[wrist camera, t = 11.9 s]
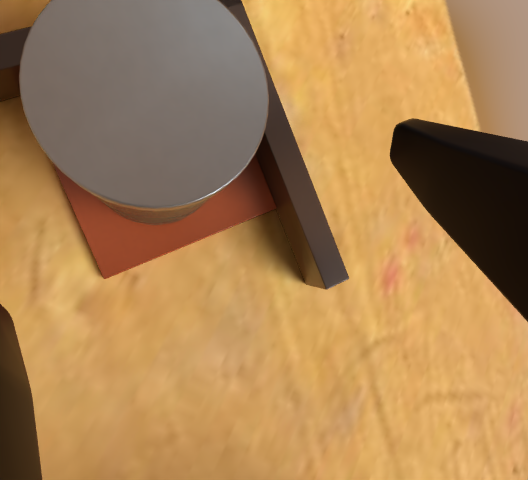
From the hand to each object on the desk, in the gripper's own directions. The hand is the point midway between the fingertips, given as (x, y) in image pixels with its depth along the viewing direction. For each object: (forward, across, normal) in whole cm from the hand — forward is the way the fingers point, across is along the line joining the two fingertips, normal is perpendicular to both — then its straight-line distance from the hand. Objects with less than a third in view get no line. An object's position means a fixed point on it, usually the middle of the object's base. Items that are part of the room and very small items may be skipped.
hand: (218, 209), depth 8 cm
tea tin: (+9, 0, +5) cm, 11 cm away
